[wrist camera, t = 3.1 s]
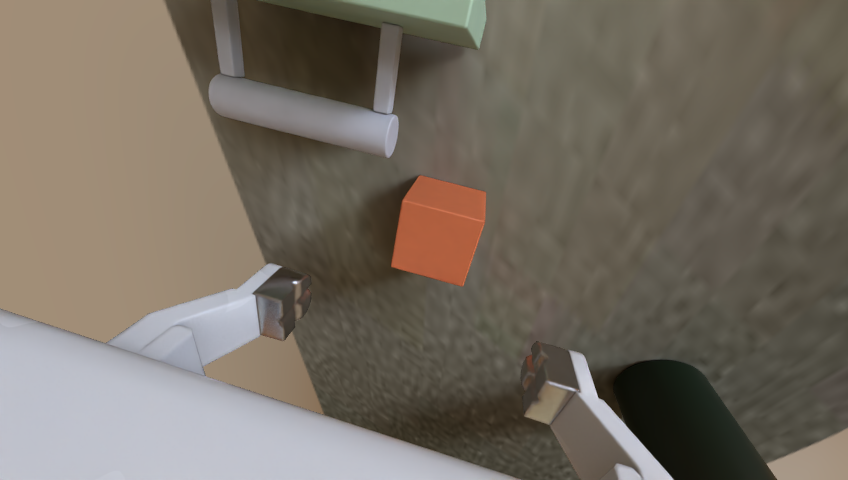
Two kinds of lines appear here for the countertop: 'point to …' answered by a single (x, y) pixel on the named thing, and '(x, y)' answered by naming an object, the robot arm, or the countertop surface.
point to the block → (439, 230)
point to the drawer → (325, 118)
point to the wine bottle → (686, 423)
